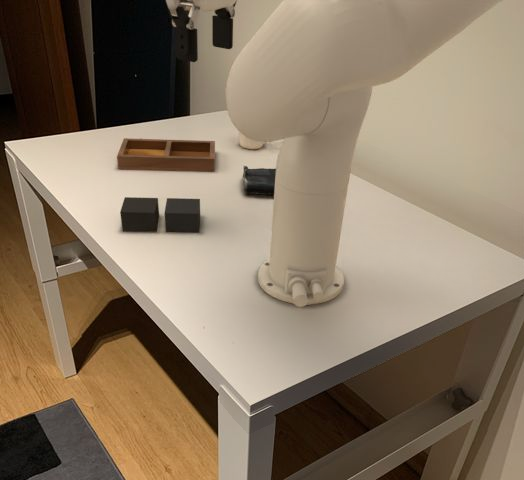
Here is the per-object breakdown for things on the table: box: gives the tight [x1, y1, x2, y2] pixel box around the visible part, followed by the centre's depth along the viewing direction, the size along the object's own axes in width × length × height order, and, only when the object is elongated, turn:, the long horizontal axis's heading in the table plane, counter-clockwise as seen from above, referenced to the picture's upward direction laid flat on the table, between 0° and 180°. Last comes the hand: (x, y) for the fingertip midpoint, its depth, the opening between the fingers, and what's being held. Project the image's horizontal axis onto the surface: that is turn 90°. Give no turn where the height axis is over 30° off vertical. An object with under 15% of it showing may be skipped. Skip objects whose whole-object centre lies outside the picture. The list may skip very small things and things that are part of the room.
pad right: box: [164, 197, 201, 234], centre depth 92 cm, size 6×6×4 cm
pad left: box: [119, 196, 160, 233], centre depth 92 cm, size 6×6×4 cm
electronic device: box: [242, 165, 276, 196], centre depth 105 cm, size 9×6×15 cm
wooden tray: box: [116, 137, 216, 172], centre depth 114 cm, size 10×19×3 cm, turn 93°
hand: (205, 53), depth 80 cm, fingers open, 9 cm apart
